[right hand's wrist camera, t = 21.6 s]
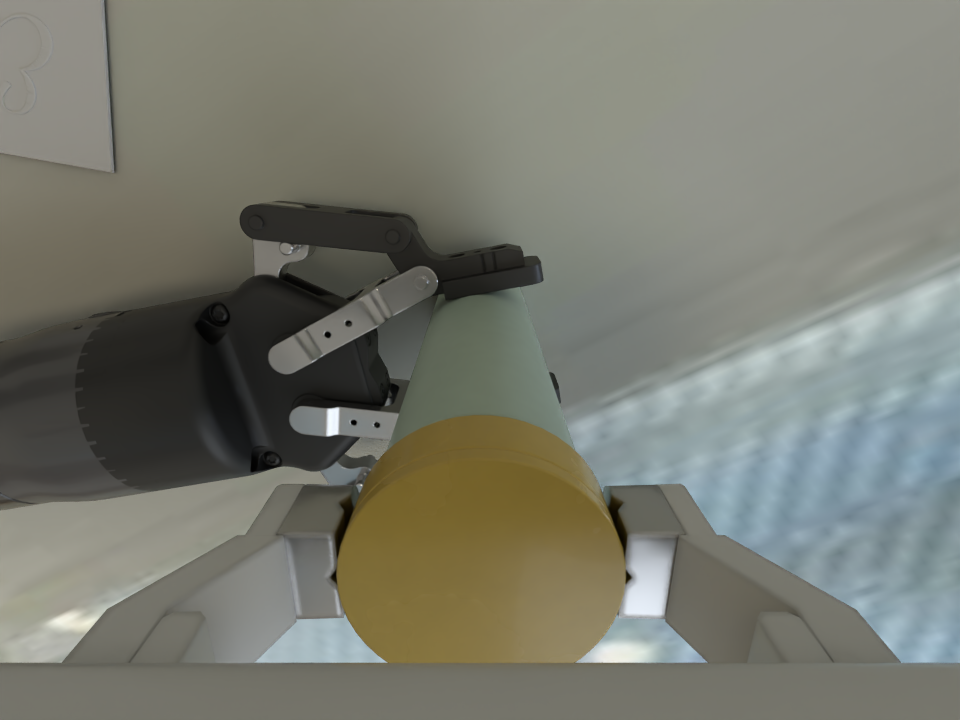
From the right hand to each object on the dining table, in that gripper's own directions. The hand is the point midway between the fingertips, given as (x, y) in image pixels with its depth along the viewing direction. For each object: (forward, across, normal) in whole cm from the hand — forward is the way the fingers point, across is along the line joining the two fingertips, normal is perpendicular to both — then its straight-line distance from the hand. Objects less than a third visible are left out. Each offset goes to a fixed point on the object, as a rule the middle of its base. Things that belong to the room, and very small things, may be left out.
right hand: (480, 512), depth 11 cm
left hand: (+11, -3, 0) cm, 12 cm away
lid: (-2, 0, 0) cm, 2 cm away
